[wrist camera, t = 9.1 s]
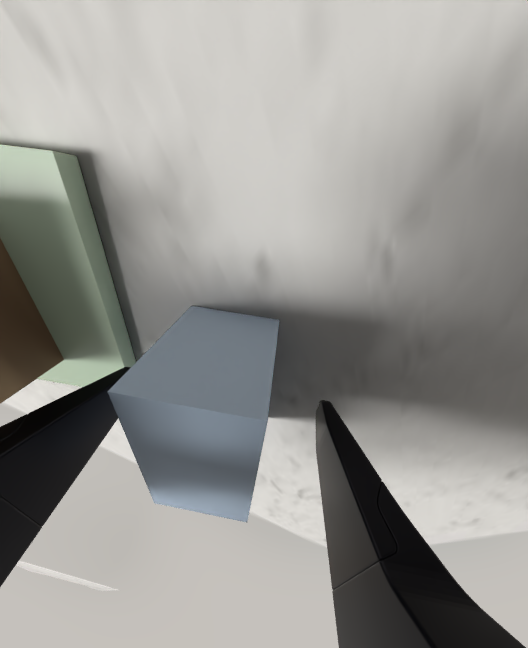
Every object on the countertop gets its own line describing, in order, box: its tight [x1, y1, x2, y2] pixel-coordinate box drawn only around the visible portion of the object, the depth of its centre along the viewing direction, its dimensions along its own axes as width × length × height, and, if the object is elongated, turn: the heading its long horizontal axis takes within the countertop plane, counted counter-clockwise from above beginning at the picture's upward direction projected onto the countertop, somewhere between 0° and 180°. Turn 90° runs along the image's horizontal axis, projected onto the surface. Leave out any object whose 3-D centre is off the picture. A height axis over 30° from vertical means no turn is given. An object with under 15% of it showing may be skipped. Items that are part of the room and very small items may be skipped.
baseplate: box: [0, 145, 136, 387], centre depth 10 cm, size 11×11×1 cm
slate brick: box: [108, 306, 279, 522], centre depth 9 cm, size 4×7×5 cm, turn 173°
